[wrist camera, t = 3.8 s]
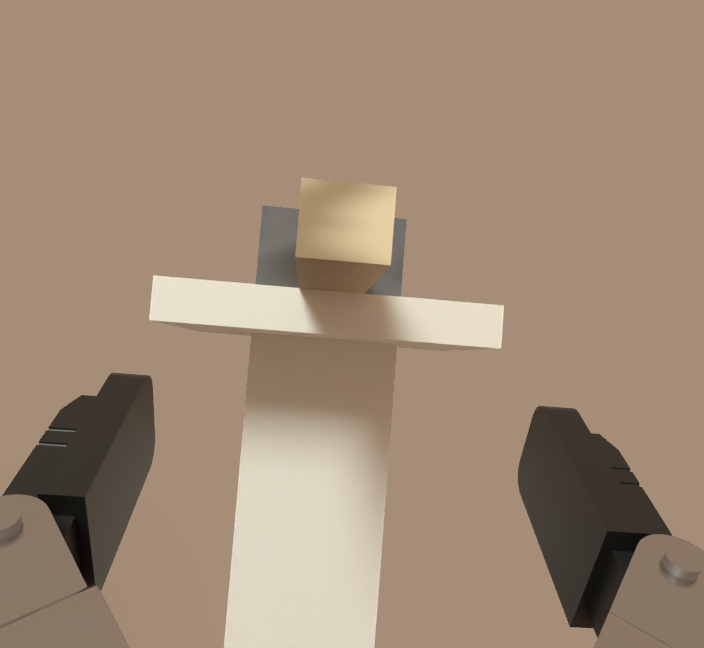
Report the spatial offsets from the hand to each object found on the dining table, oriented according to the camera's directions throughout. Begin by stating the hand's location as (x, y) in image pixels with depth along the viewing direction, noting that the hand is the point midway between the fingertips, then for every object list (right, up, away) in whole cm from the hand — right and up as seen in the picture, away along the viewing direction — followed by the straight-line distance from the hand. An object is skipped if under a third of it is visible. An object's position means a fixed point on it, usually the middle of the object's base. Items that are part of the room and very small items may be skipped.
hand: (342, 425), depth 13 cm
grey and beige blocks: (-1, +4, +17) cm, 18 cm away
